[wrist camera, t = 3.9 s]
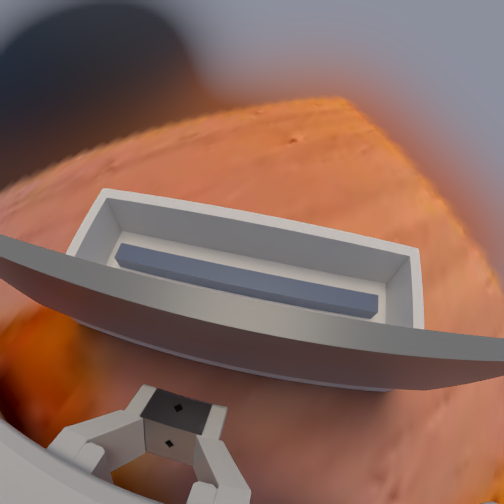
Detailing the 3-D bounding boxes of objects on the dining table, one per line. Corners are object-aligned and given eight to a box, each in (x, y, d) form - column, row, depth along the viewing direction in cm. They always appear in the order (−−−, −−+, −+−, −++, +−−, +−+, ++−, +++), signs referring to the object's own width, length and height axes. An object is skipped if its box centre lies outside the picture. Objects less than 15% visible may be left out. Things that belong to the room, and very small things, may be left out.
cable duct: (78, 323, 24) (45, 296, 19) (120, 227, 30) (103, 187, 25) (386, 391, 22) (423, 380, 17) (390, 280, 28) (418, 248, 23)
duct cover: (43, 294, 19) (39, 303, 18) (-55, 215, 9) (-62, 229, 8) (426, 379, 17) (425, 390, 16) (552, 342, 7) (552, 360, 7)
